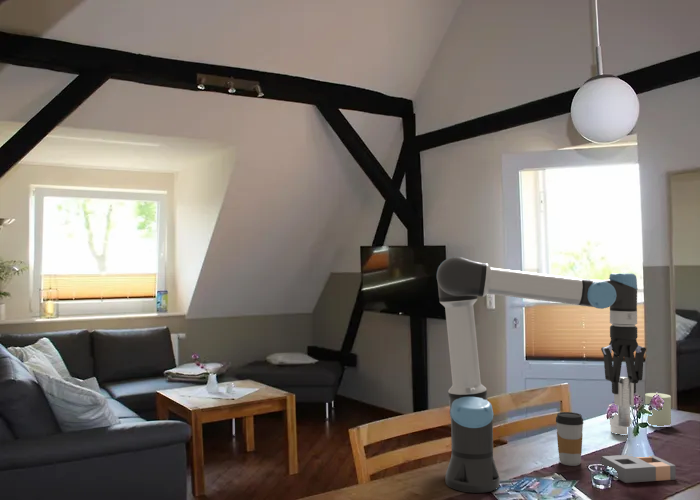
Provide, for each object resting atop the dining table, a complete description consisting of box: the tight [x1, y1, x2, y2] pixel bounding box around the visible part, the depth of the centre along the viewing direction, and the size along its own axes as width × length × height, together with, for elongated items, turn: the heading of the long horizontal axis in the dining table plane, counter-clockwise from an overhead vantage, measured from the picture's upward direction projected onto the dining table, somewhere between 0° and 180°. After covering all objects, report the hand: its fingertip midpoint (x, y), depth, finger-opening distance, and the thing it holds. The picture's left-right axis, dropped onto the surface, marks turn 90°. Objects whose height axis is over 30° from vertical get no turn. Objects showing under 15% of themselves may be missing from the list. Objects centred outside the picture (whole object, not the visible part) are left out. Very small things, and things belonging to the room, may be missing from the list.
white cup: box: [608, 403, 633, 434], centre depth 237 cm, size 8×8×10 cm
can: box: [644, 392, 672, 426], centre depth 249 cm, size 9×9×12 cm
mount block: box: [601, 454, 677, 484], centre depth 191 cm, size 16×12×4 cm
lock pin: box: [618, 376, 631, 427], centre depth 191 cm, size 3×3×14 cm
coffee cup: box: [555, 411, 584, 467], centre depth 202 cm, size 8×8×15 cm
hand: (623, 404), depth 191 cm, fingers closed on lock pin, 3 cm apart
